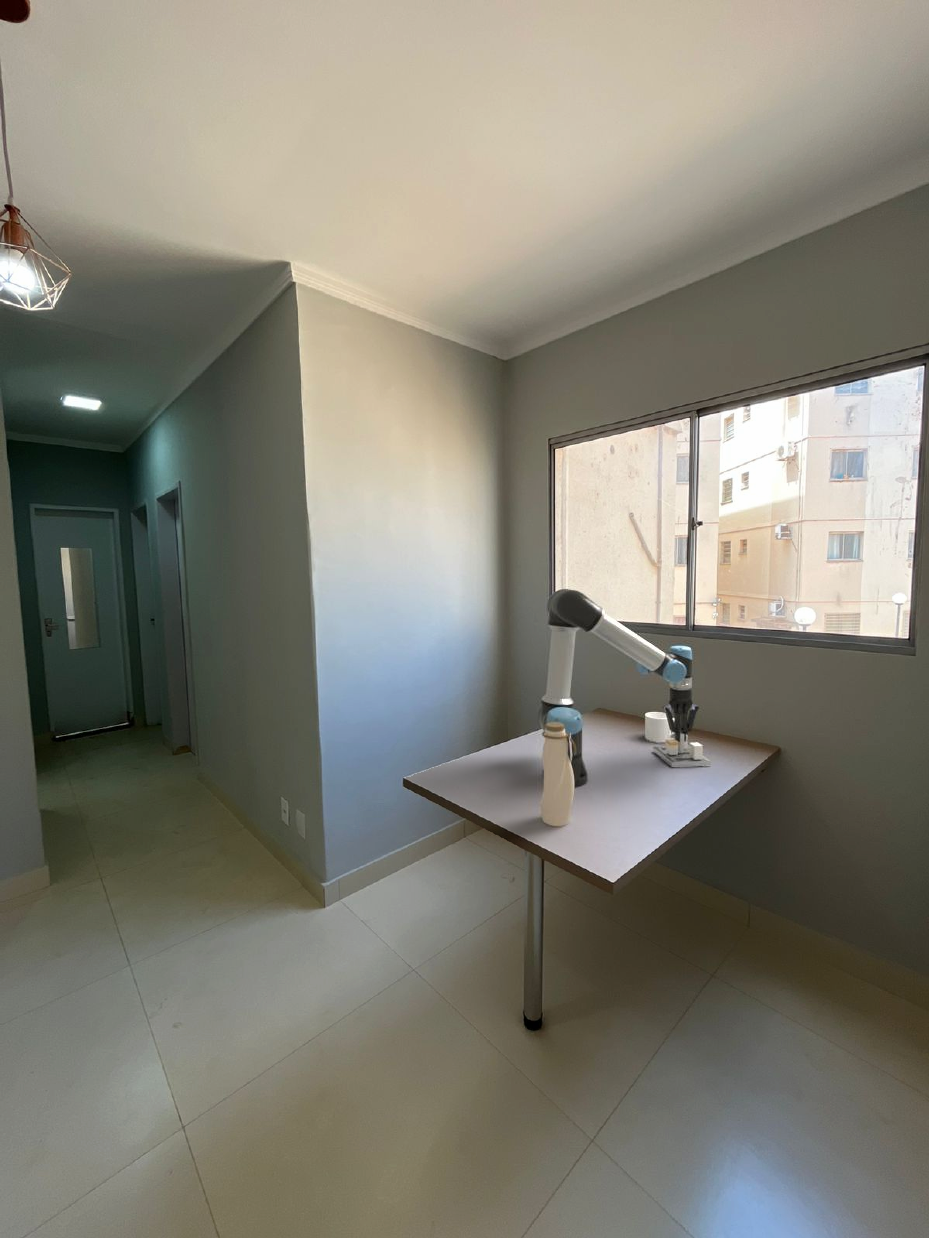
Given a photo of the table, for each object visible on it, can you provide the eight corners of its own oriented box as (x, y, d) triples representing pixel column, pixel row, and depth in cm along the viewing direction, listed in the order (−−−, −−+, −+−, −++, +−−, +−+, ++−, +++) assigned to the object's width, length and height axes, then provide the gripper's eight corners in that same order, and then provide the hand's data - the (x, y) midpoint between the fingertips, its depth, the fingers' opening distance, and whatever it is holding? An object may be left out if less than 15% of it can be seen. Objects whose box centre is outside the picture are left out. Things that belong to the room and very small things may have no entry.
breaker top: (679, 748, 190) (679, 736, 190) (675, 745, 194) (675, 733, 193) (687, 748, 190) (687, 735, 190) (682, 745, 194) (683, 732, 193)
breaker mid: (669, 754, 184) (670, 741, 184) (665, 751, 188) (665, 738, 188) (677, 754, 185) (678, 741, 184) (673, 751, 188) (673, 738, 188)
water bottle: (572, 811, 148) (571, 719, 145) (580, 826, 139) (579, 728, 136) (537, 812, 148) (536, 720, 145) (543, 827, 139) (542, 729, 136)
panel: (672, 767, 178) (672, 762, 178) (653, 752, 194) (653, 746, 194) (710, 766, 179) (710, 760, 179) (688, 750, 195) (688, 745, 195)
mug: (641, 740, 208) (642, 716, 207) (649, 734, 216) (649, 710, 215) (673, 746, 200) (673, 721, 199) (679, 739, 208) (680, 715, 207)
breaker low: (694, 759, 179) (694, 746, 179) (689, 755, 183) (689, 742, 182) (702, 759, 179) (702, 745, 179) (697, 755, 183) (697, 742, 183)
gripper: (668, 691, 180) (668, 754, 182) (703, 689, 181) (702, 752, 183) (659, 686, 188) (659, 747, 190) (692, 684, 188) (692, 745, 190)
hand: (680, 749), depth 186 cm, fingers closed
